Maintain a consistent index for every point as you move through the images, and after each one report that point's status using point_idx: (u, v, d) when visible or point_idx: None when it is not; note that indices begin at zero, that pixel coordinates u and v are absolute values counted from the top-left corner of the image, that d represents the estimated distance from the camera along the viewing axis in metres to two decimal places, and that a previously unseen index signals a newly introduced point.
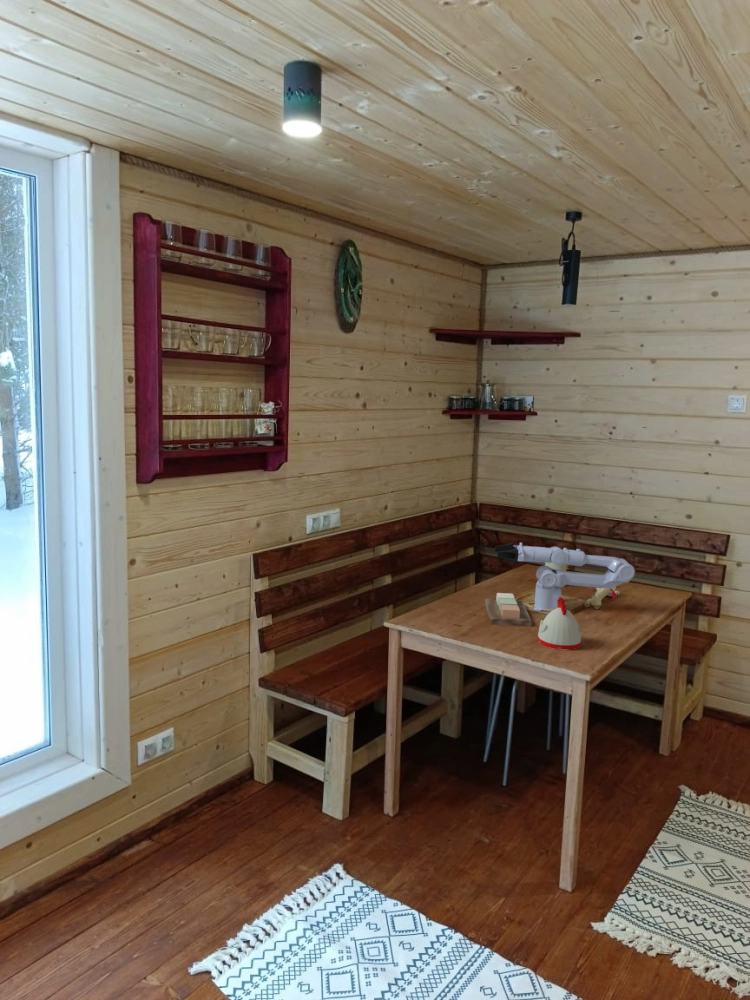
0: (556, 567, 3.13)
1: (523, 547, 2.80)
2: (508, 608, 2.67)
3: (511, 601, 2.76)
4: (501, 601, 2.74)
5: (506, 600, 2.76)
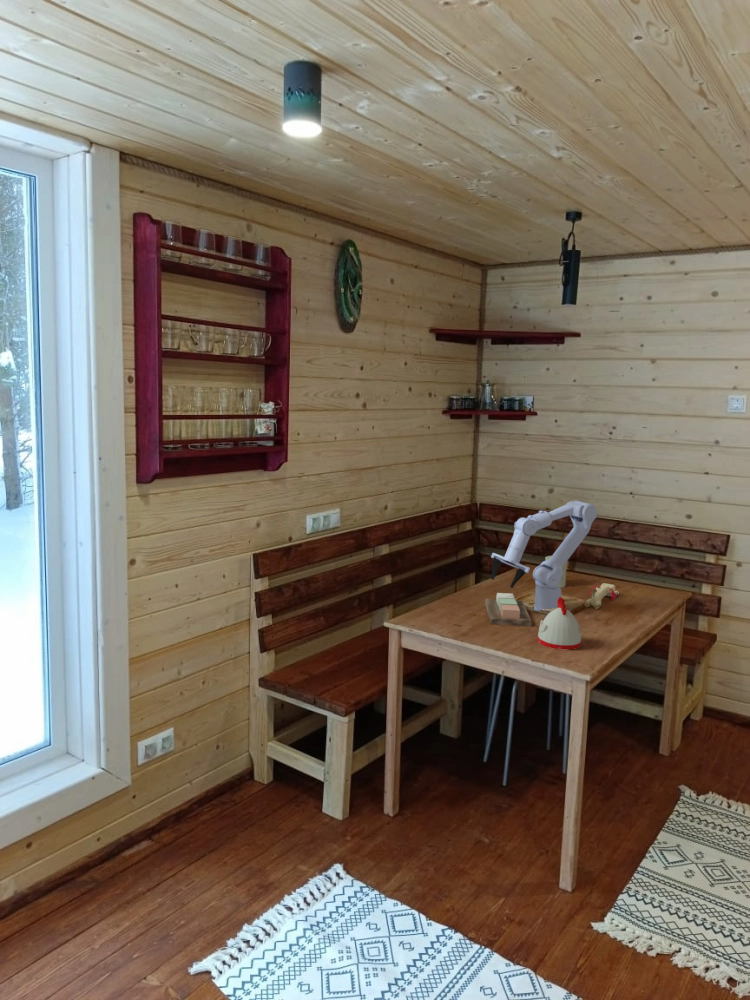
0: None
1: (513, 559, 2.73)
2: (508, 608, 2.67)
3: (511, 601, 2.76)
4: (501, 601, 2.74)
5: (506, 600, 2.76)
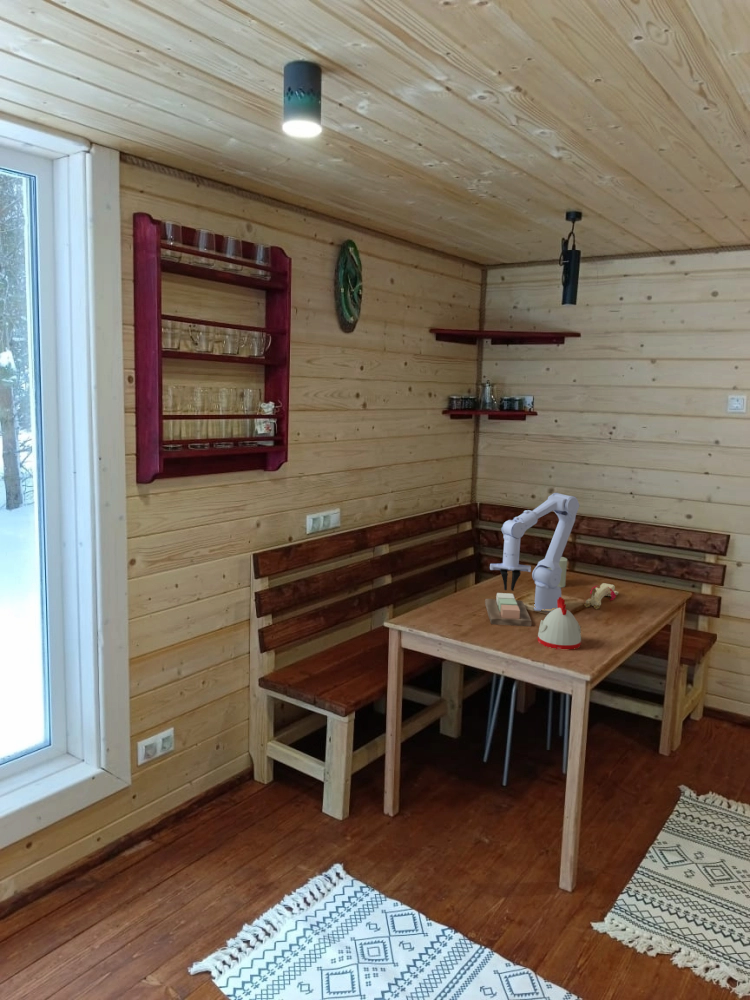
0: None
1: (514, 565, 2.70)
2: (508, 608, 2.67)
3: (511, 601, 2.76)
4: (501, 601, 2.74)
5: (506, 600, 2.76)
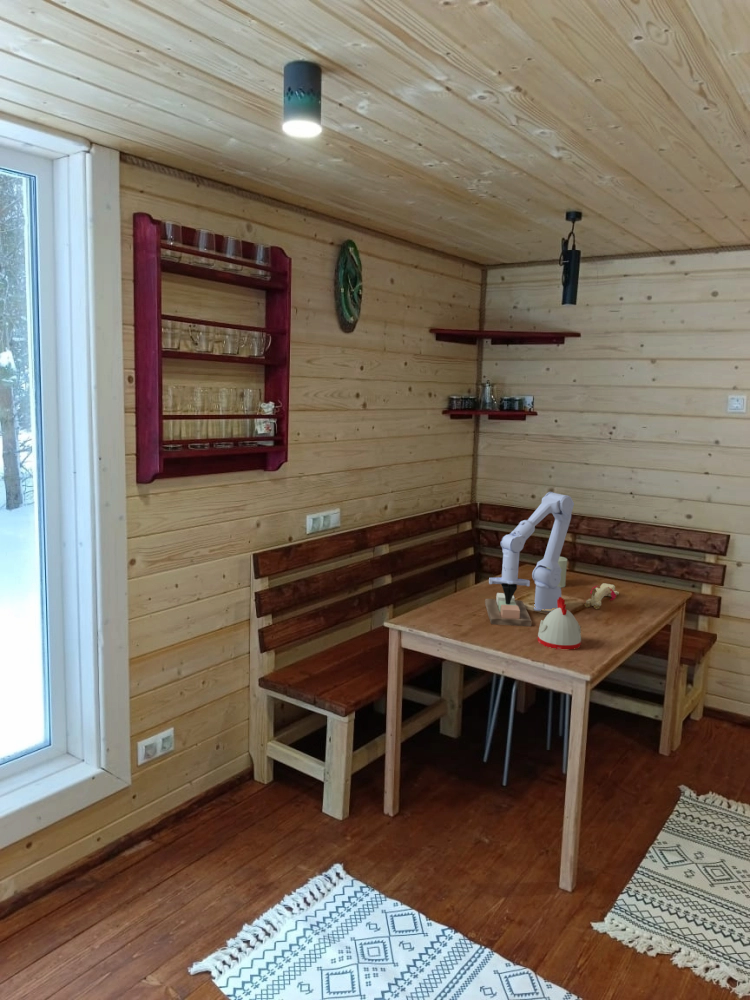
0: None
1: (513, 579, 2.71)
2: (508, 608, 2.67)
3: (511, 603, 2.76)
4: (500, 604, 2.74)
5: None
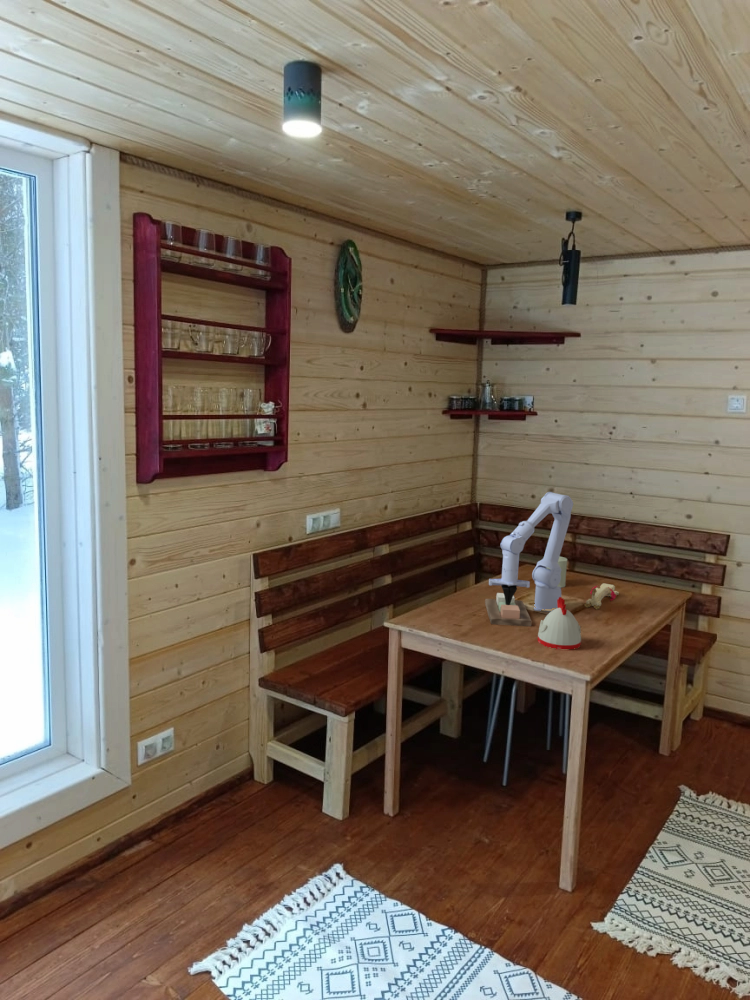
0: None
1: (513, 581, 2.71)
2: (508, 608, 2.67)
3: (511, 604, 2.76)
4: (500, 605, 2.74)
5: None
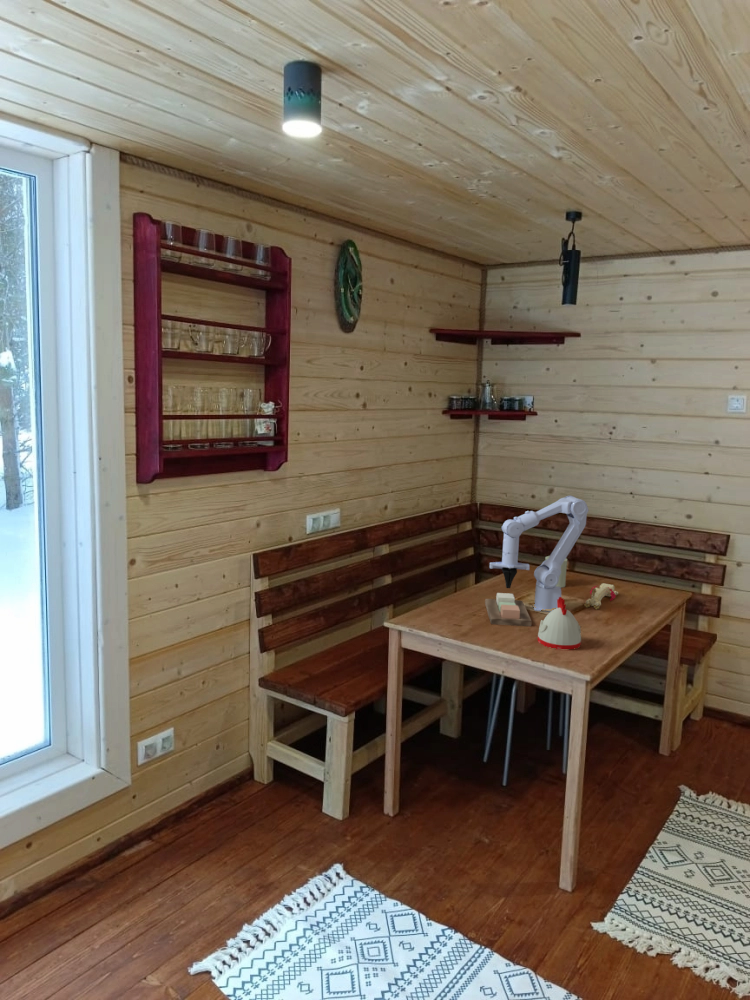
0: None
1: (513, 564, 2.77)
2: (508, 608, 2.67)
3: (511, 604, 2.76)
4: (500, 605, 2.74)
5: (506, 603, 2.76)
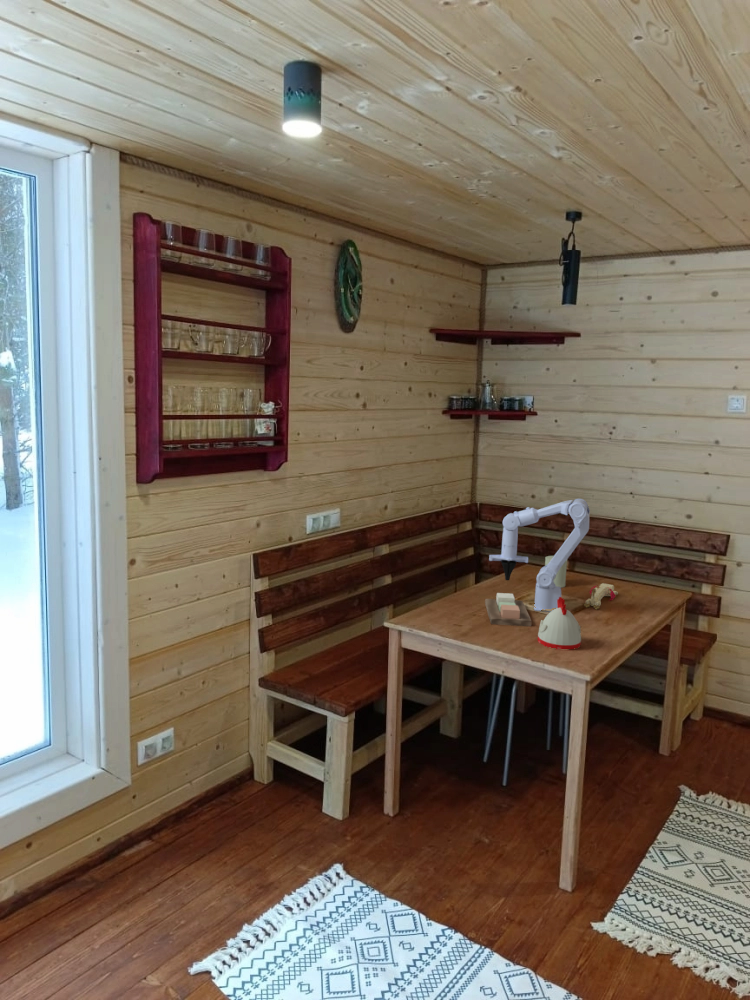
0: None
1: (512, 556, 2.84)
2: (508, 608, 2.67)
3: (511, 604, 2.76)
4: (500, 605, 2.74)
5: (506, 603, 2.76)
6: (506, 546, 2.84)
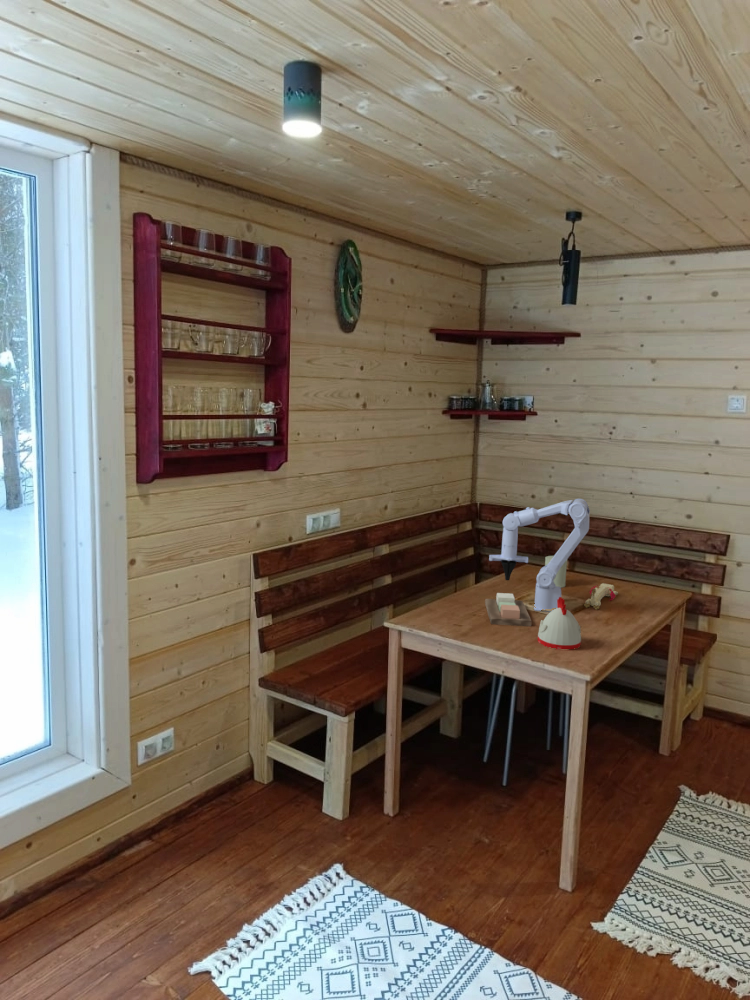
0: None
1: (512, 556, 2.84)
2: (508, 608, 2.67)
3: (511, 604, 2.76)
4: (500, 605, 2.74)
5: (506, 603, 2.76)
6: (506, 546, 2.84)
